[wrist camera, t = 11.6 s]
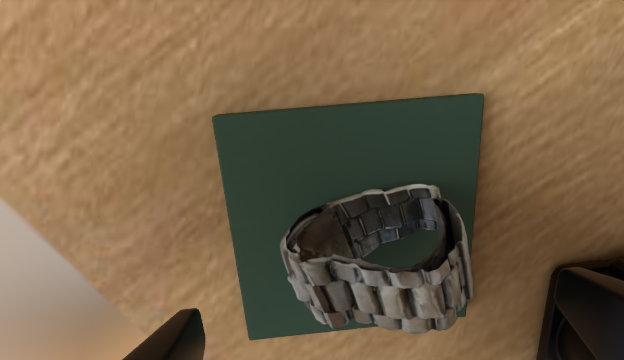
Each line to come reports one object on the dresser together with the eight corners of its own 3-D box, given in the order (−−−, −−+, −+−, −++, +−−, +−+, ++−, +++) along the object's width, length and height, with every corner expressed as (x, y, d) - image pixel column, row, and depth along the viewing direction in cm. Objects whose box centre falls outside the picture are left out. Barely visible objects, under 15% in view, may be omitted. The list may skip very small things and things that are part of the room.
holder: (459, 307, 14) (466, 317, 14) (250, 330, 14) (248, 341, 13) (475, 93, 11) (485, 93, 11) (215, 114, 11) (211, 116, 10)
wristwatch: (345, 172, 13) (257, 253, 9) (493, 182, 10) (439, 309, 6) (361, 235, 14) (288, 325, 11) (496, 262, 11) (452, 404, 7)
